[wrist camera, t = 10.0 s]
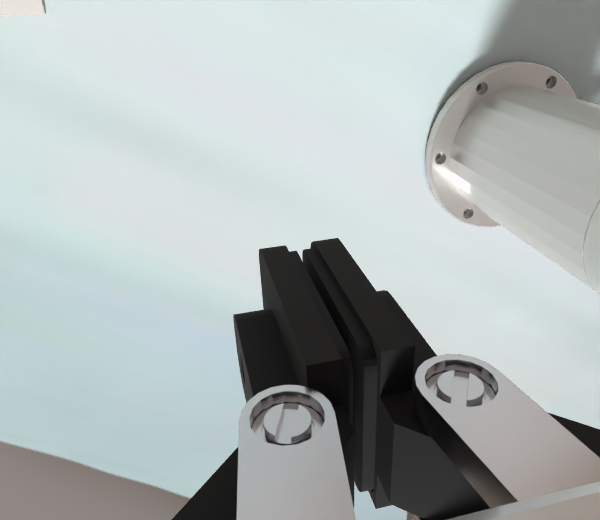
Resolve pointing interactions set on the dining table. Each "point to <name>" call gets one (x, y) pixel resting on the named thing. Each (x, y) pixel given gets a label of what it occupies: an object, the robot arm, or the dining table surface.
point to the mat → (21, 7)
